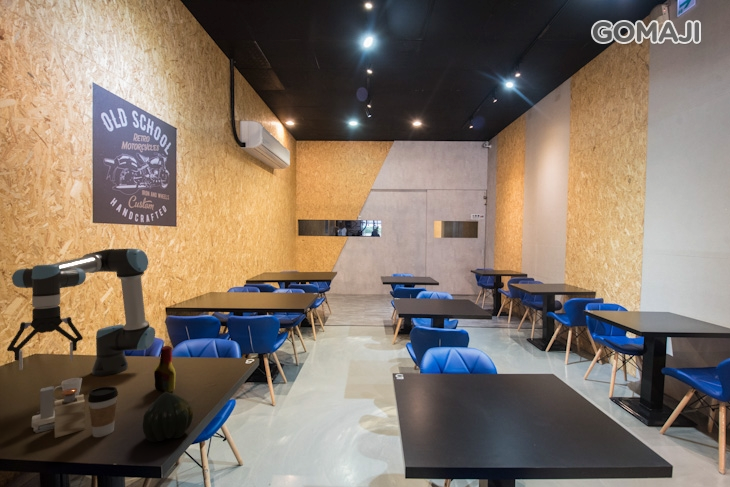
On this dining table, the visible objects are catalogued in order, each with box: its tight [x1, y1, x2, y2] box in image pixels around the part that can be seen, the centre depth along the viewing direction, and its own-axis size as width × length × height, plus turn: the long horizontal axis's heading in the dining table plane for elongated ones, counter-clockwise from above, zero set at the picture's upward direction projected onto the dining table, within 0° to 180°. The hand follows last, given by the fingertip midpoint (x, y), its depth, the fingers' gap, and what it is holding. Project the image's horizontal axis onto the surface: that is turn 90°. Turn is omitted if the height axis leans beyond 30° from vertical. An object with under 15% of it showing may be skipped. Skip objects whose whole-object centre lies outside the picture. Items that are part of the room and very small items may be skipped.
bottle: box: [153, 345, 176, 393], centre depth 155 cm, size 12×6×20 cm, turn 58°
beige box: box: [54, 393, 86, 439], centre depth 123 cm, size 8×8×10 cm
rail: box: [34, 407, 55, 434], centre depth 129 cm, size 6×19×2 cm, turn 42°
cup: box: [53, 377, 83, 401], centre depth 146 cm, size 7×10×8 cm
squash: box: [142, 392, 194, 443], centre depth 118 cm, size 14×15×15 cm
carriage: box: [31, 385, 55, 432], centre depth 126 cm, size 8×7×13 cm
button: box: [61, 388, 77, 404], centre depth 123 cm, size 4×4×7 cm
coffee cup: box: [87, 386, 119, 438], centre depth 120 cm, size 8×8×15 cm
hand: (47, 364), depth 126 cm, fingers open, 13 cm apart
